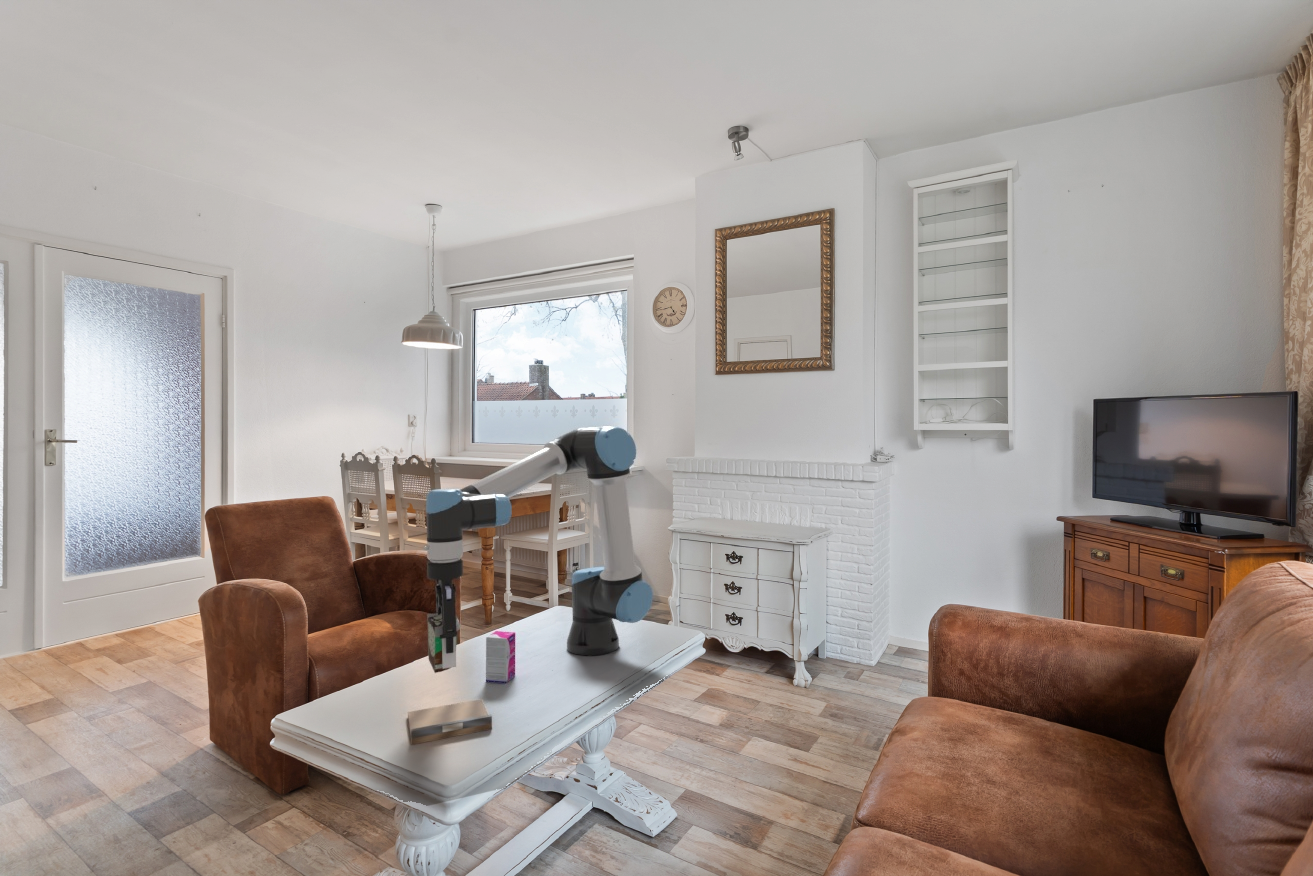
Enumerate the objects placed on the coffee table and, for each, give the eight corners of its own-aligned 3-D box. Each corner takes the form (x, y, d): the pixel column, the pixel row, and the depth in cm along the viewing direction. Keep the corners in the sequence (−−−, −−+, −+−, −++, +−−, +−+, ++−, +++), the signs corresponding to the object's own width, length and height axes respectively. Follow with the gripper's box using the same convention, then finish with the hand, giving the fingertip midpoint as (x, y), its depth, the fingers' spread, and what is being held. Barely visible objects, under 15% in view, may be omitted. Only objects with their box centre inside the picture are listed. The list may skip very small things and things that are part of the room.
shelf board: (481, 704, 150) (481, 692, 150) (492, 729, 137) (491, 716, 137) (407, 717, 143) (407, 705, 143) (411, 745, 130) (411, 731, 130)
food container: (465, 670, 139) (465, 623, 139) (435, 675, 136) (435, 627, 136) (455, 653, 150) (454, 610, 150) (427, 657, 147) (427, 613, 147)
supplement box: (507, 684, 162) (506, 638, 162) (485, 682, 163) (484, 637, 163) (516, 675, 168) (515, 631, 168) (495, 674, 169) (494, 630, 169)
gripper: (423, 552, 152) (424, 645, 152) (431, 570, 130) (433, 679, 130) (456, 549, 155) (457, 641, 155) (470, 567, 133) (471, 673, 133)
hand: (446, 658), depth 142 cm, fingers closed on food container, 11 cm apart
